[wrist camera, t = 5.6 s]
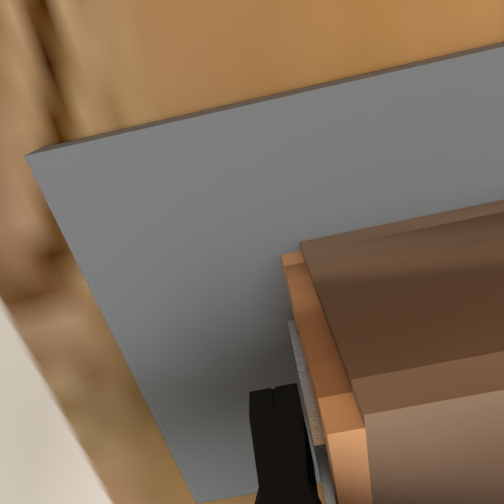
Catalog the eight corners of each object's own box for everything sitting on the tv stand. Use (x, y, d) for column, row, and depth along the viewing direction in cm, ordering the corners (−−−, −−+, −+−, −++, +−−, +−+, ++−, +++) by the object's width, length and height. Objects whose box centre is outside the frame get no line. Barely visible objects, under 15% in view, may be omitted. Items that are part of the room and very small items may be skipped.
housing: (535, 382, 14) (715, 574, 9) (313, 422, 15) (360, 629, 9) (577, 183, 11) (927, 312, 5) (279, 245, 11) (324, 422, 6)
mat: (562, 416, 17) (580, 436, 16) (197, 481, 18) (196, 503, 17) (676, 2, 9) (722, -3, 9) (42, 147, 10) (24, 156, 9)
